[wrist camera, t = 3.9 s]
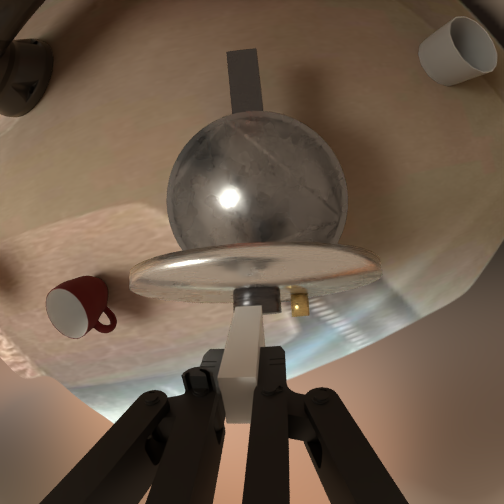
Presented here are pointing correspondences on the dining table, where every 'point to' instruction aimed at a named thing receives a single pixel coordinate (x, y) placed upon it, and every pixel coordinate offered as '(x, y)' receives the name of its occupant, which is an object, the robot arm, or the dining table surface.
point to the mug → (79, 307)
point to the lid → (256, 274)
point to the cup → (458, 52)
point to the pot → (255, 175)
